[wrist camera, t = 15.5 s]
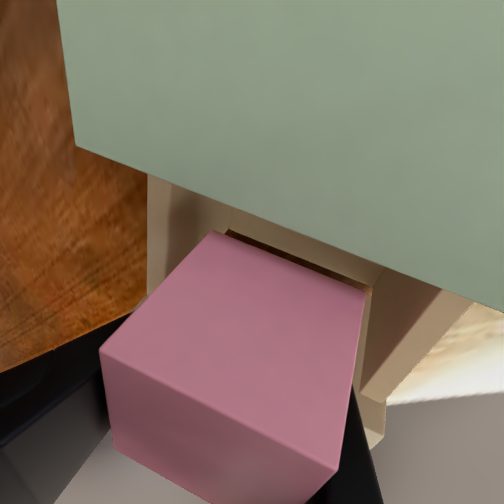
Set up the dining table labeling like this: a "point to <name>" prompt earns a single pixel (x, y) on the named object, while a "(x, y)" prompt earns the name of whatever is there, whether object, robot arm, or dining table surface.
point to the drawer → (362, 270)
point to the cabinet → (312, 118)
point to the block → (236, 375)
